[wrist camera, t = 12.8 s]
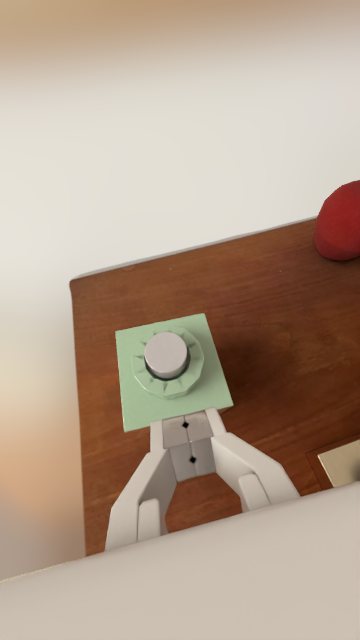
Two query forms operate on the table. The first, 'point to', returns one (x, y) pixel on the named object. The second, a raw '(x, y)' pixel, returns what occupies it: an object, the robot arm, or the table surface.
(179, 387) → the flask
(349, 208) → the apple
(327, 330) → the table surface
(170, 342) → the grey cylindrical peg
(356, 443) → the panel
